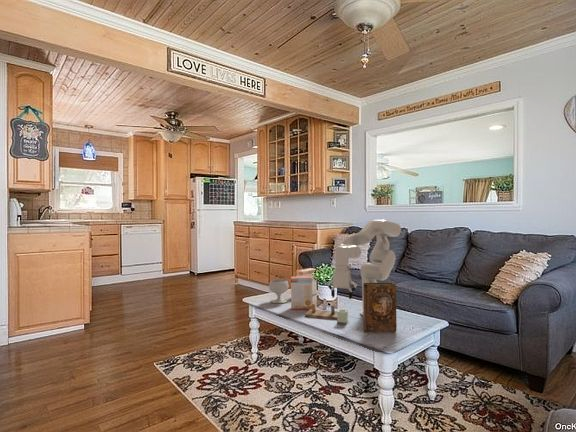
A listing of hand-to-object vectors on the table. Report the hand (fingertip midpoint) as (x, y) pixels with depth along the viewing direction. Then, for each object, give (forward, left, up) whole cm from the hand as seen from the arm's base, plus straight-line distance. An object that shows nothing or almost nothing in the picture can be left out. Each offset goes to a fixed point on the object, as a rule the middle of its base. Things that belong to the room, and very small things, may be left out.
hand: (341, 298), depth 199 cm
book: (-21, +7, -15) cm, 27 cm away
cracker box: (+31, -22, -15) cm, 41 cm away
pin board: (+14, -11, -14) cm, 23 cm away
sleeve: (0, 0, -14) cm, 14 cm away
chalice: (+52, -34, -15) cm, 64 cm away
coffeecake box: (+39, -59, -15) cm, 72 cm away
